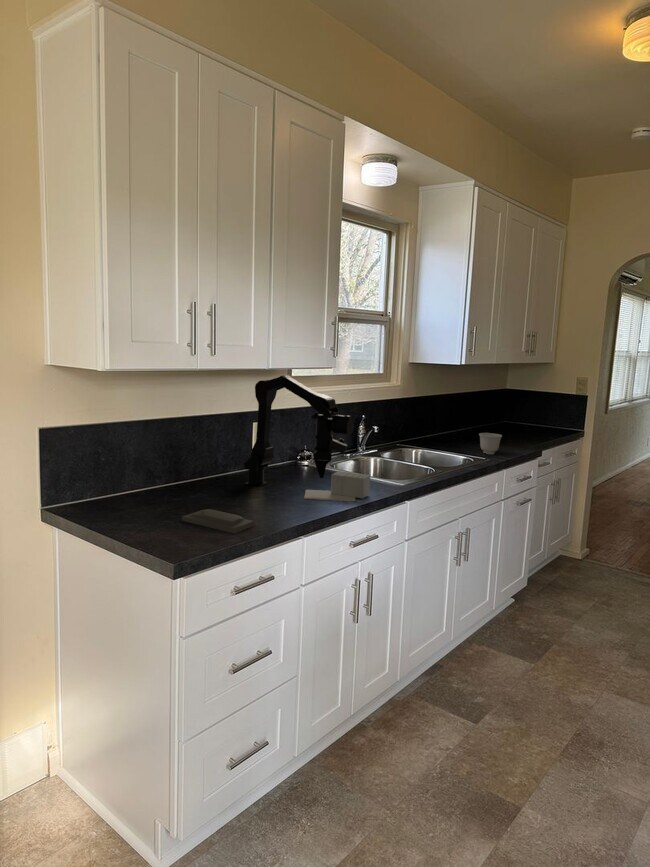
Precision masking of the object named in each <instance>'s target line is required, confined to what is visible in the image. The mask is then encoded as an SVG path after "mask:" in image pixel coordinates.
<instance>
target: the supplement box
mask: <svg viewBox="0 0 650 867" xmlns="http://www.w3.org/2000/svg"><path fill="white" fill-rule="evenodd" d="M370 483H371V475H370V474H364V473H358V472H357V473H356V472H349V471H341V470H338V471H336V472H334V473H332V474H331V478H330V491H331V494H337V495H343V496H350V497H355V498H358V499H365V498H366V497H367V496H368V495H370V487H371V485H370Z"/></svg>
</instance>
